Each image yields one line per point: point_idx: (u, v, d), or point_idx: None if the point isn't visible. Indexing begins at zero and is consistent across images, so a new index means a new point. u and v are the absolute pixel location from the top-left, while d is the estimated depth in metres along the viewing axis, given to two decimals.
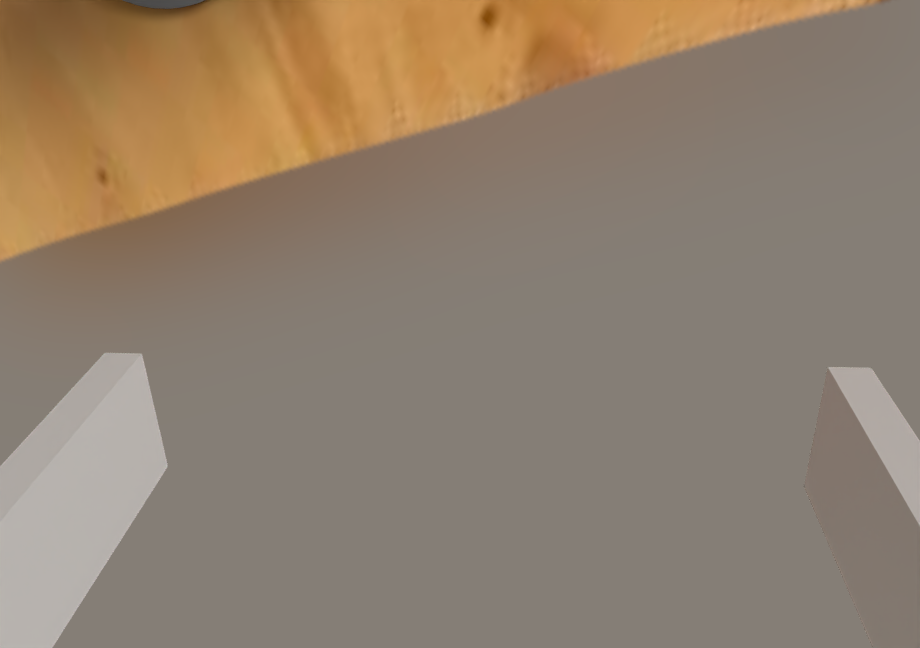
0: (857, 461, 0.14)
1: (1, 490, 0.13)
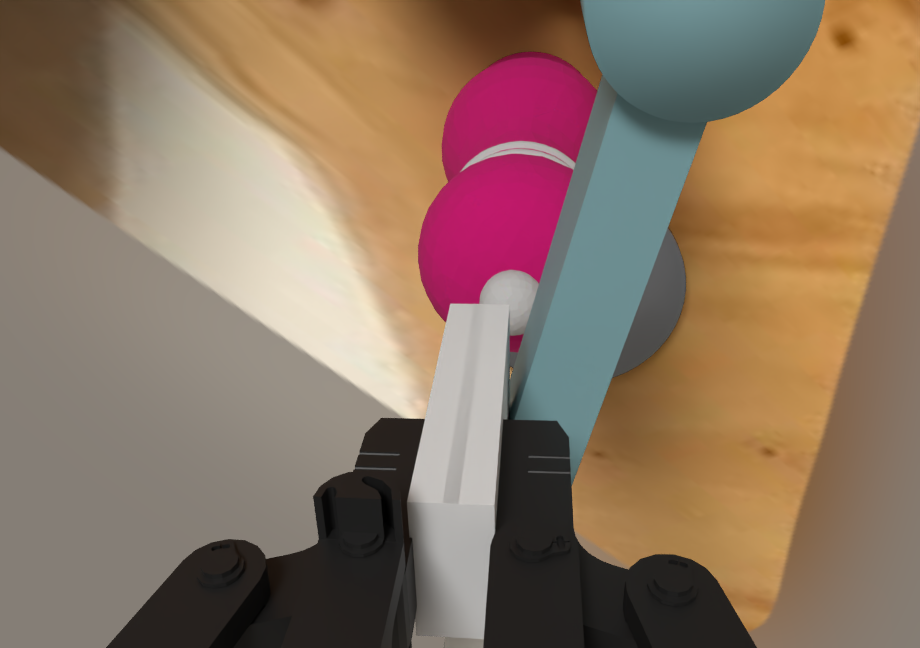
0: None
1: (447, 413, 0.14)
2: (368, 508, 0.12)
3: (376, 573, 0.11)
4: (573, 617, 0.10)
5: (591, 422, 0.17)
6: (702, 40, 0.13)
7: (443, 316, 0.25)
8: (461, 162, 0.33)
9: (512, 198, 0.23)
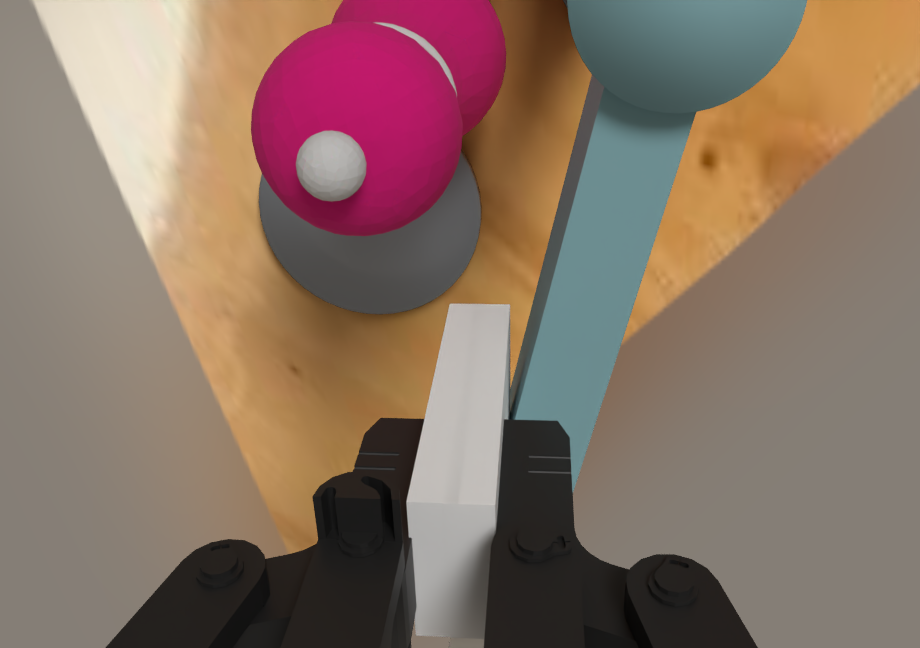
0: None
1: (447, 413, 0.14)
2: (367, 508, 0.12)
3: (375, 573, 0.11)
4: (574, 617, 0.10)
5: (592, 420, 0.17)
6: (686, 29, 0.13)
7: (255, 139, 0.23)
8: None
9: (392, 74, 0.22)
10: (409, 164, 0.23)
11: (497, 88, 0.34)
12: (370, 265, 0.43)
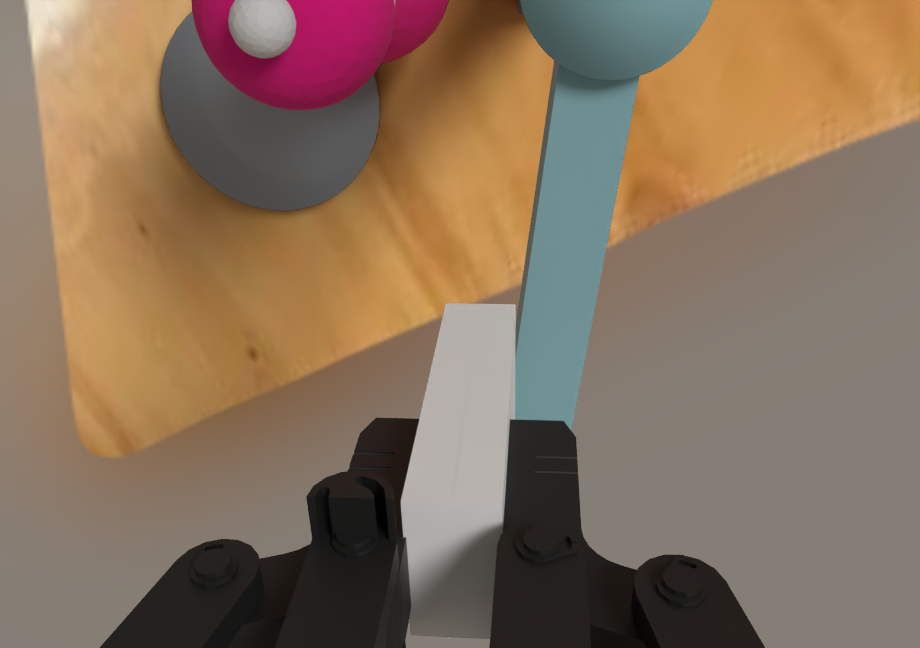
0: None
1: (442, 413, 0.14)
2: (361, 508, 0.12)
3: (369, 572, 0.11)
4: (580, 618, 0.10)
5: (582, 357, 0.20)
6: (620, 8, 0.16)
7: None
8: None
9: None
10: (332, 52, 0.24)
11: (429, 31, 0.36)
12: (253, 154, 0.44)
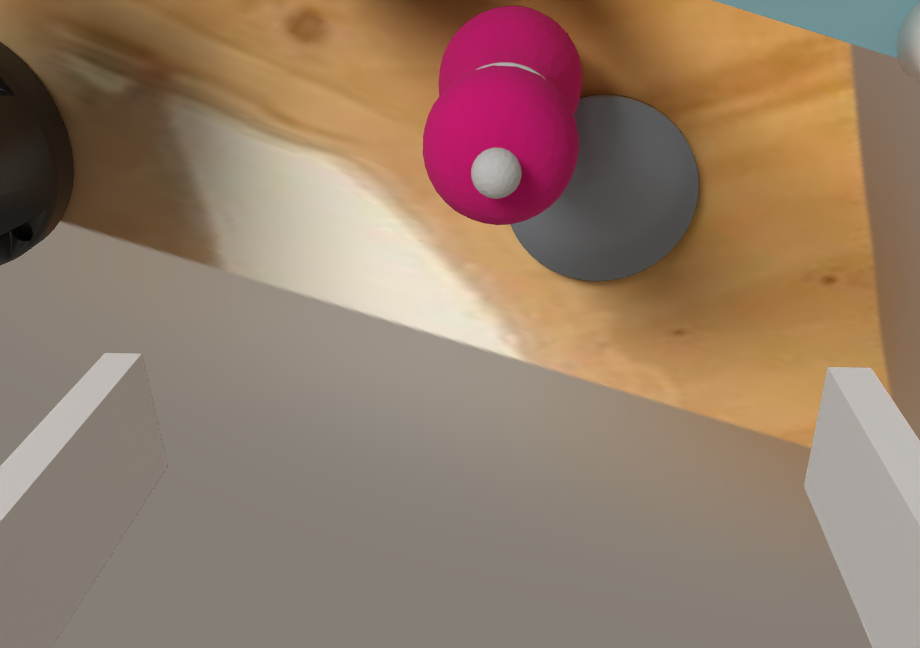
0: (857, 461, 0.14)
1: (1, 490, 0.13)
2: None
3: None
4: None
5: None
6: None
7: (459, 210, 0.33)
8: None
9: (472, 98, 0.30)
10: (532, 125, 0.30)
11: (564, 38, 0.41)
12: (638, 219, 0.49)
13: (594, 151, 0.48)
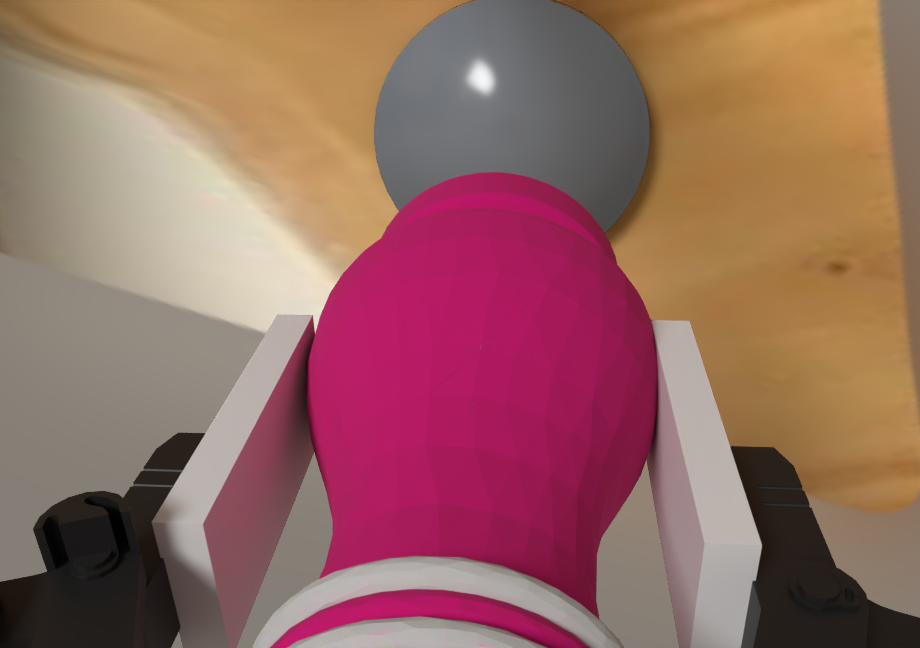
0: (660, 399, 0.16)
1: (229, 429, 0.14)
2: (96, 527, 0.11)
3: (116, 588, 0.11)
4: None
5: None
6: None
7: None
8: (330, 508, 0.15)
9: None
10: None
11: (622, 304, 0.16)
12: (565, 180, 0.35)
13: (498, 78, 0.33)
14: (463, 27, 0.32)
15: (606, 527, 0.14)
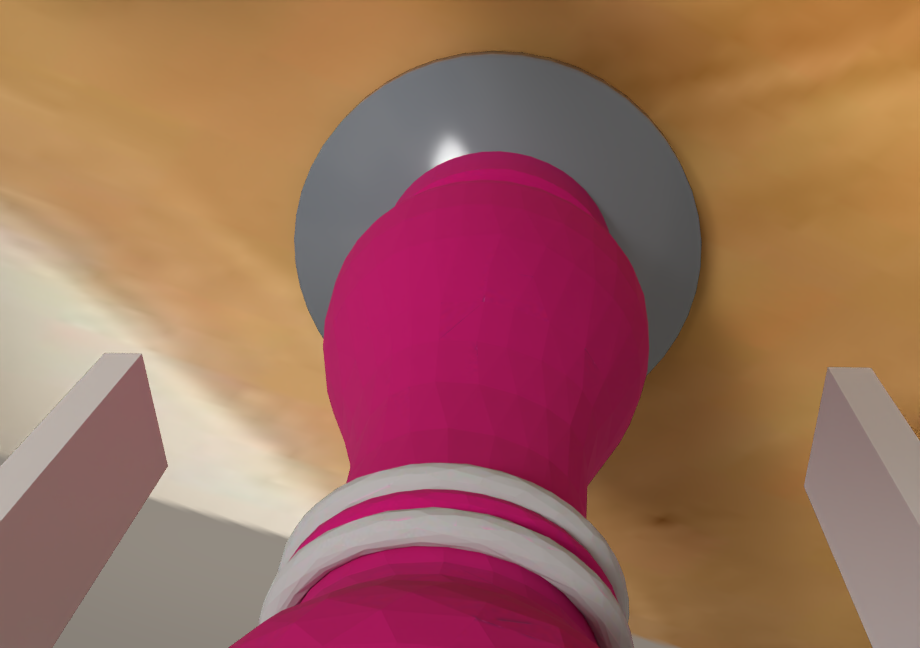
0: (857, 461, 0.14)
1: (1, 490, 0.13)
2: None
3: None
4: None
5: None
6: None
7: None
8: (346, 448, 0.16)
9: None
10: None
11: (613, 266, 0.17)
12: None
13: None
14: (421, 101, 0.21)
15: (597, 466, 0.16)
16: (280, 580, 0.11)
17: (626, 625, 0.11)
